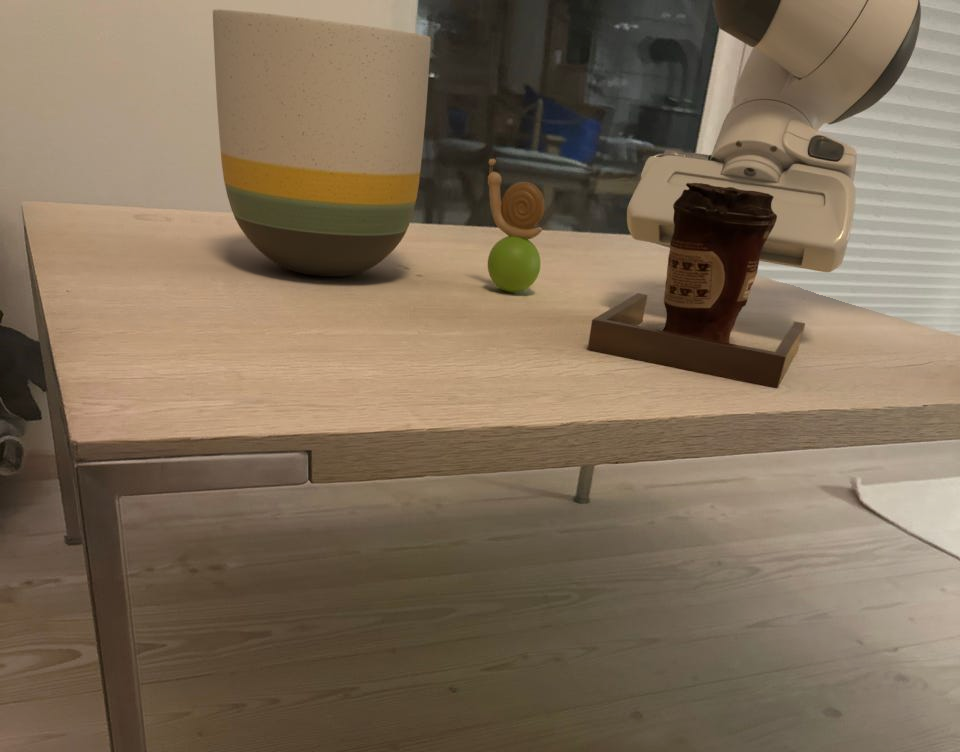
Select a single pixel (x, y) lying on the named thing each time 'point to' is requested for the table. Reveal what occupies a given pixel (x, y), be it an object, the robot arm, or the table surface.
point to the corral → (689, 347)
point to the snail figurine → (515, 233)
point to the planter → (320, 136)
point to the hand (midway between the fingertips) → (714, 287)
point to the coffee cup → (714, 258)
